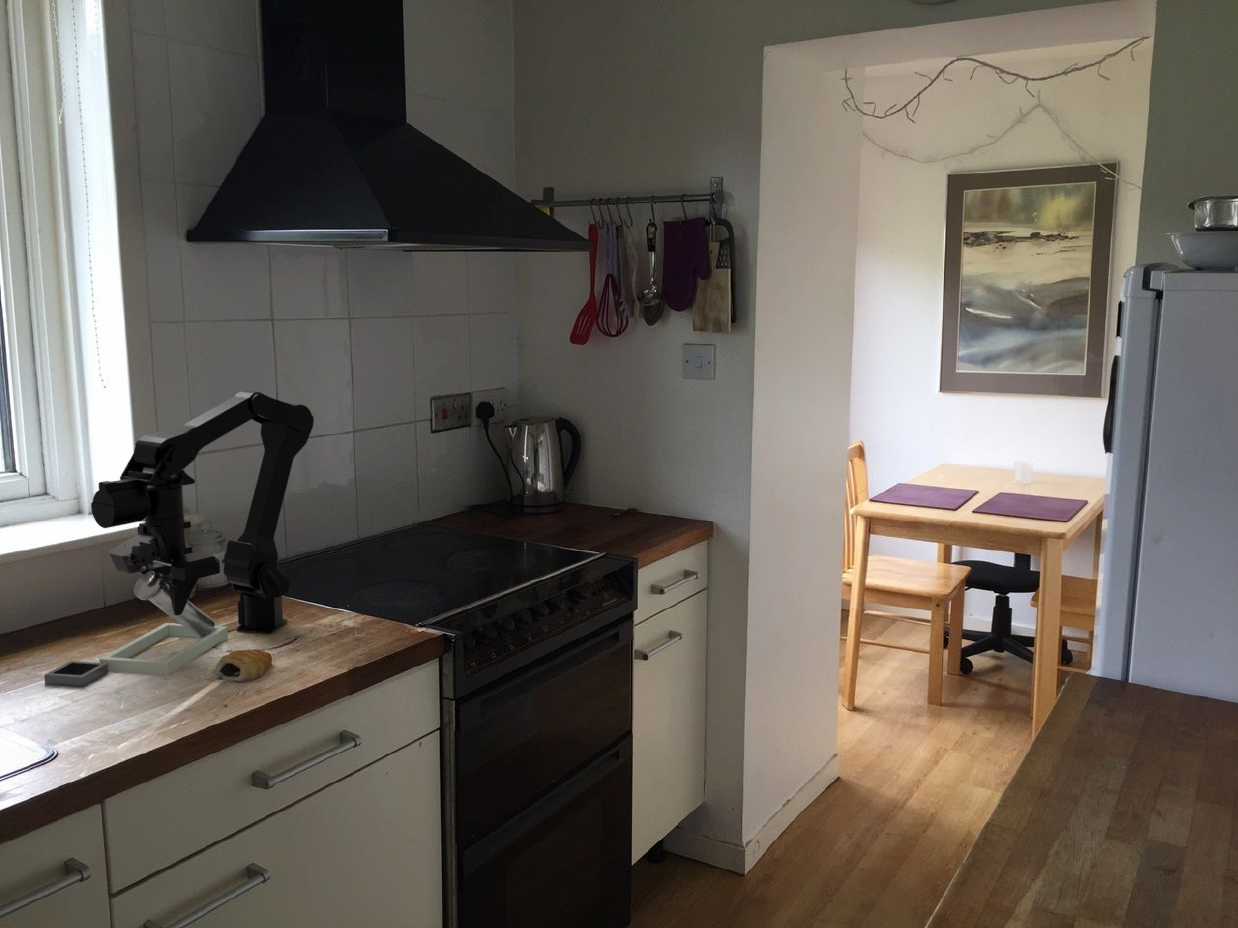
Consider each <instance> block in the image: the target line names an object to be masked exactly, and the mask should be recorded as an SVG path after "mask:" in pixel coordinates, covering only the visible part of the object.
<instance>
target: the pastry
mask: <svg viewBox="0 0 1238 928" xmlns="http://www.w3.org/2000/svg"><path fill="white" fill-rule="evenodd" d="M272 662H273V656H272V654H271V652H270V653H269V652H267V651H264V650H261V649H257V648H255V649H243V650H236V651H230V652H229V653H228V654H226V655H223V656H222V657H220V659H219V661H218V663H217V664H216V666H215V668H214V670H213V671H212V674H213V675H214V676H219V677H217V680H218V679H219V681H221V680H225V681H224V682H235V681H237V682H236V683H244V681H245V682H250V681H249V680H252V681H253V679H254V680H256V679H255V678H257V679H258V677H262V676H263V675H265V674H266V673H267V672H268V670H269V669H271V667H272Z"/></svg>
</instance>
